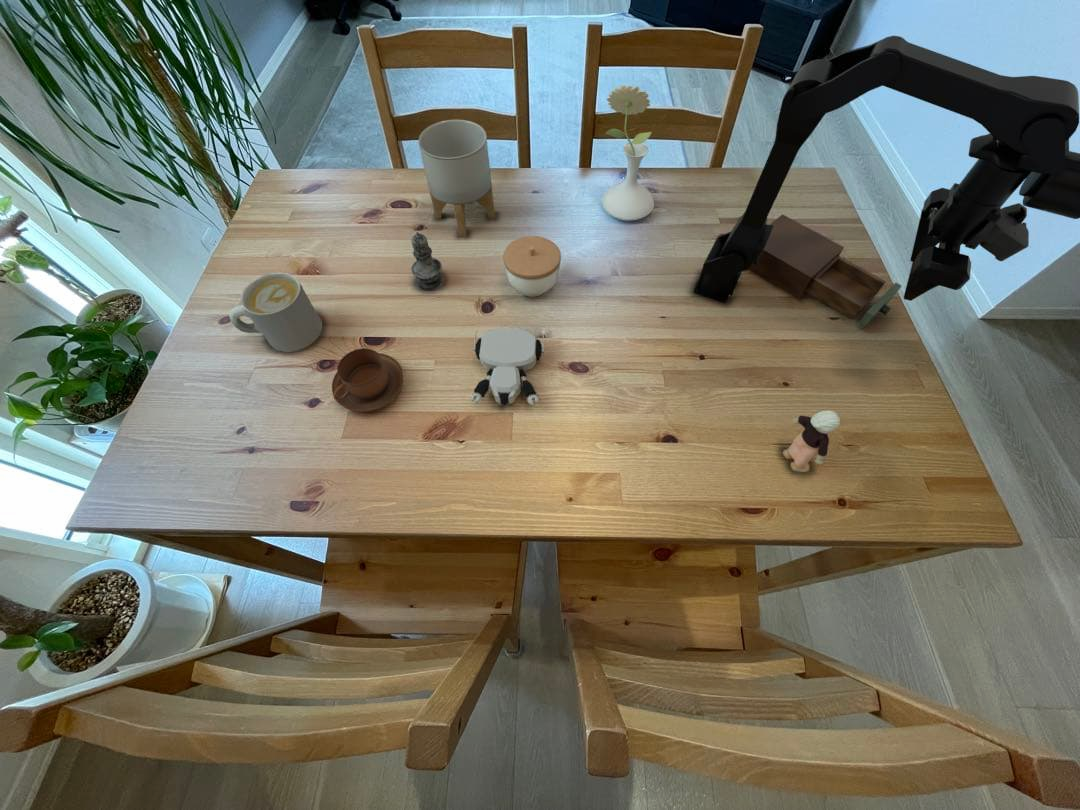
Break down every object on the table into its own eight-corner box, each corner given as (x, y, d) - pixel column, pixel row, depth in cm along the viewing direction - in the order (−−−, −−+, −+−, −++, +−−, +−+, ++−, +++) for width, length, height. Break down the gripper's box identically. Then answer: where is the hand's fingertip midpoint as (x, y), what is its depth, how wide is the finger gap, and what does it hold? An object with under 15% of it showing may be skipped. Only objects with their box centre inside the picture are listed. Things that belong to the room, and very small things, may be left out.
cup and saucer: (384, 425, 84) (373, 405, 79) (322, 404, 87) (307, 384, 81) (418, 370, 90) (409, 348, 85) (359, 352, 93) (347, 329, 87)
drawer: (896, 303, 96) (908, 289, 92) (868, 333, 92) (880, 319, 89) (830, 266, 101) (839, 251, 98) (801, 293, 97) (809, 278, 94)
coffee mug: (325, 309, 98) (304, 270, 90) (318, 349, 93) (295, 312, 85) (255, 314, 98) (227, 275, 89) (243, 355, 93) (212, 318, 84)
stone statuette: (410, 287, 101) (394, 238, 91) (424, 267, 104) (410, 218, 94) (436, 295, 100) (423, 246, 90) (450, 275, 103) (439, 225, 93)
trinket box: (530, 314, 97) (528, 277, 89) (494, 284, 101) (490, 246, 93) (571, 286, 100) (573, 249, 92) (535, 258, 105) (534, 220, 97)
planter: (493, 236, 109) (483, 157, 94) (432, 236, 109) (413, 158, 94) (496, 198, 116) (488, 119, 100) (439, 198, 116) (423, 119, 101)
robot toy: (541, 413, 86) (544, 339, 93) (541, 400, 82) (544, 324, 89) (469, 411, 87) (478, 338, 93) (465, 398, 83) (474, 323, 89)
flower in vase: (661, 203, 114) (687, 83, 92) (638, 232, 109) (659, 113, 87) (609, 184, 118) (622, 65, 96) (585, 212, 112) (593, 93, 91)
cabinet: (830, 269, 102) (844, 247, 97) (798, 299, 98) (811, 277, 93) (772, 236, 107) (782, 214, 103) (739, 263, 103) (748, 241, 98)
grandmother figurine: (820, 472, 79) (863, 432, 68) (800, 482, 78) (840, 443, 67) (787, 433, 82) (823, 389, 72) (768, 442, 82) (801, 399, 71)
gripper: (1053, 255, 61) (962, 339, 74) (1051, 169, 69) (970, 258, 83) (951, 227, 63) (881, 313, 77) (961, 148, 72) (896, 238, 85)
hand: (910, 279), depth 80 cm, fingers open, 9 cm apart
